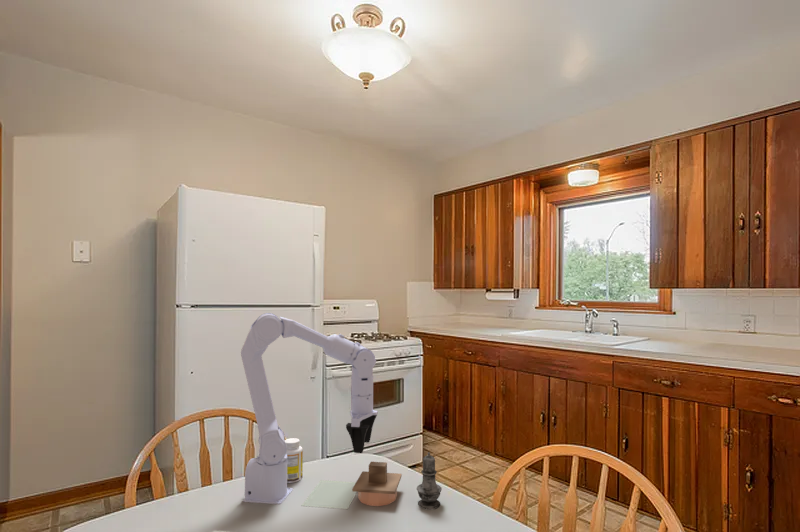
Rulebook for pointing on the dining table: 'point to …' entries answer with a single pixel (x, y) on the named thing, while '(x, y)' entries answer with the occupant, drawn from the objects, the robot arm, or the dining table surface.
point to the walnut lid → (377, 480)
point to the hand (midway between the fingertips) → (362, 447)
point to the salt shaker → (429, 485)
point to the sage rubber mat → (331, 495)
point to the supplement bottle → (294, 460)
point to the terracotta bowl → (376, 498)
